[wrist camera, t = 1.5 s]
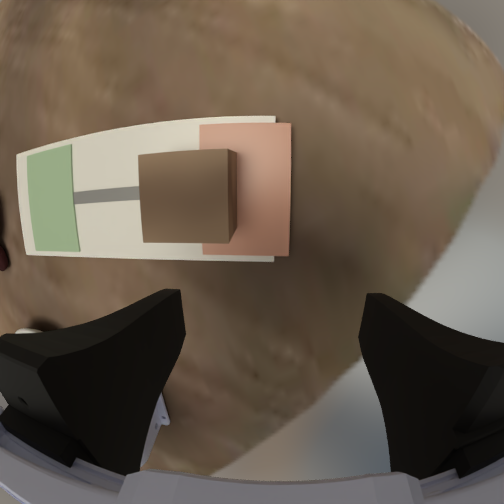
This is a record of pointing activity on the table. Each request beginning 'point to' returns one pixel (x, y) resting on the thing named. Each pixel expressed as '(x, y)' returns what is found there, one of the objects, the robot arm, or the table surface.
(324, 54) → the table surface
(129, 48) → the table surface
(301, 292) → the table surface
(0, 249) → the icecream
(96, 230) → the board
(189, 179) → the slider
